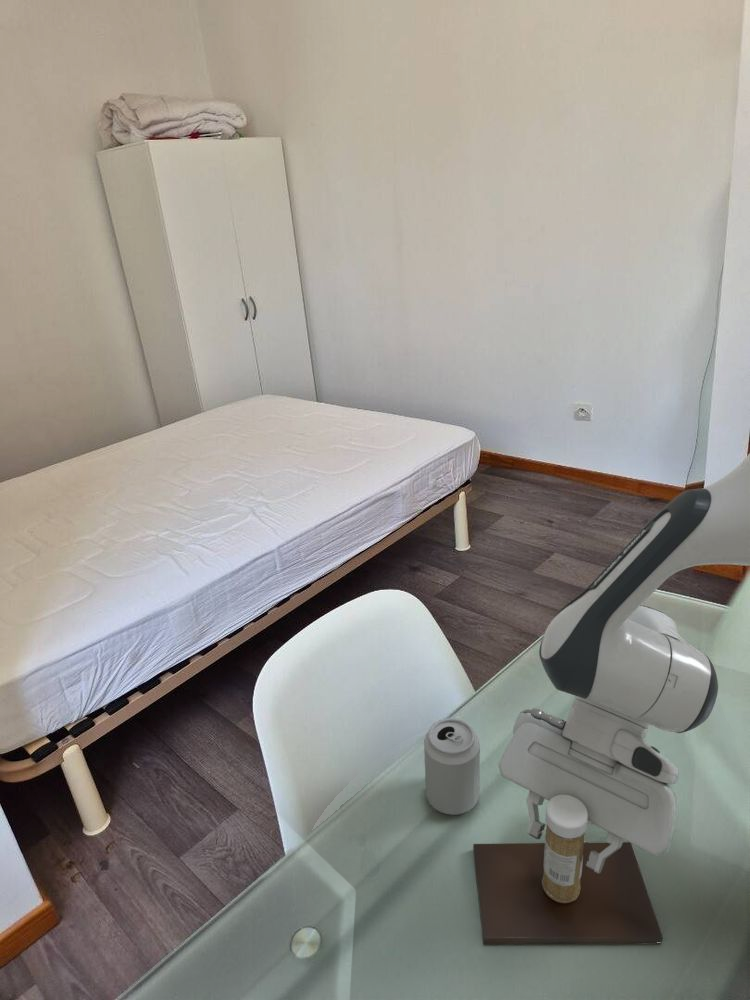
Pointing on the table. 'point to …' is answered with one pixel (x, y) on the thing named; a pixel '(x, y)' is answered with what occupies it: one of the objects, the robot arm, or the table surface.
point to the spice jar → (564, 847)
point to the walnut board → (541, 920)
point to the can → (452, 766)
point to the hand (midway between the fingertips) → (562, 852)
